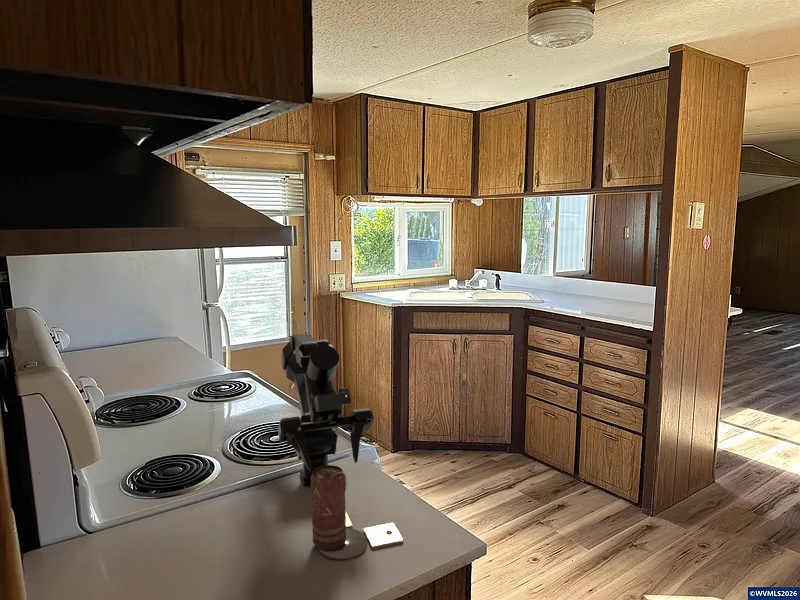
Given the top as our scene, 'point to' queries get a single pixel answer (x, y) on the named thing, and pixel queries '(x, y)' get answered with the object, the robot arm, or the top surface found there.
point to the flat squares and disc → (364, 540)
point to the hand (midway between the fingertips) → (333, 465)
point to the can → (328, 507)
